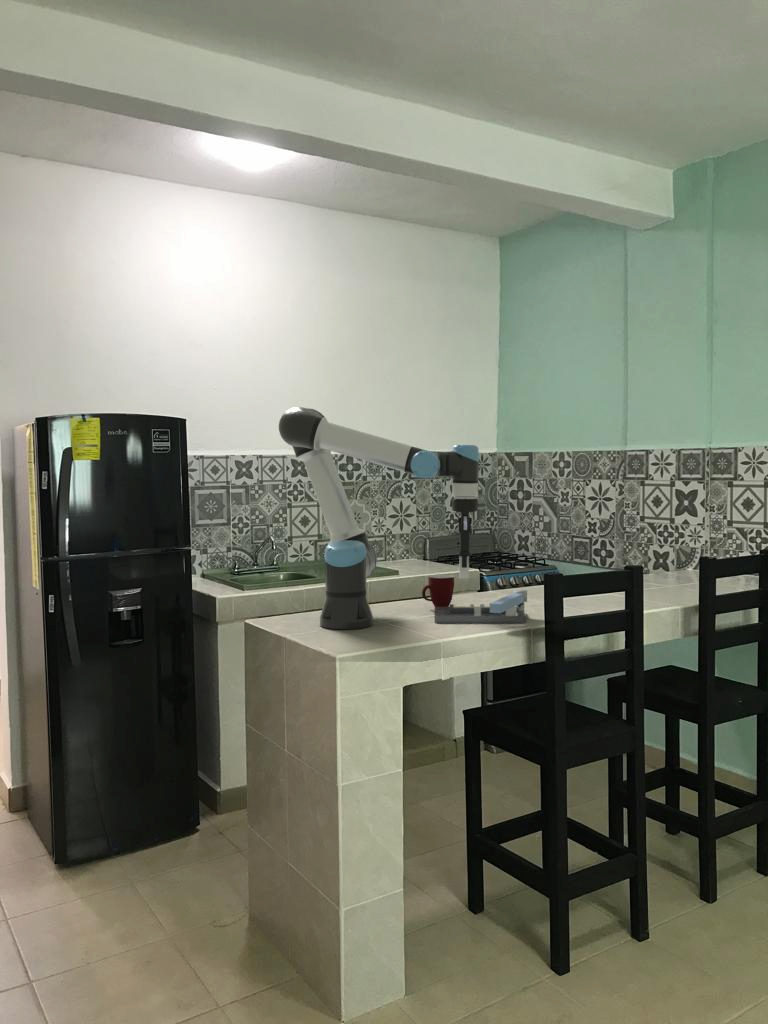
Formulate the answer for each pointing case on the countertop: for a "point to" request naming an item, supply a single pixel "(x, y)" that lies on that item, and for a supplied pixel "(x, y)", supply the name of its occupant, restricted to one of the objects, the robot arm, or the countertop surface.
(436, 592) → the mug
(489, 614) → the server tray
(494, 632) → the countertop surface
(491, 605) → the bar
